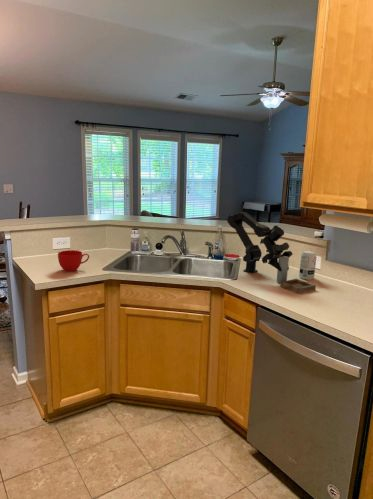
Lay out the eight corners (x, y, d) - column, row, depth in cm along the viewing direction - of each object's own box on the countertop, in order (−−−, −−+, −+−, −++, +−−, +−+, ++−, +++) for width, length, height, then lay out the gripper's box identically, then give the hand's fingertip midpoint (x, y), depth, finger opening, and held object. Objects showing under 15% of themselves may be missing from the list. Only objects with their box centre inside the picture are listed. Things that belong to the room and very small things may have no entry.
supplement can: (298, 275, 212) (300, 250, 208) (313, 276, 210) (315, 251, 207) (299, 279, 204) (302, 253, 201) (314, 280, 202) (317, 254, 199)
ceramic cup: (91, 271, 204) (91, 254, 202) (60, 274, 197) (59, 256, 195) (87, 265, 216) (86, 249, 214) (57, 268, 208) (56, 251, 206)
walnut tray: (280, 286, 190) (280, 281, 189) (296, 283, 196) (296, 278, 196) (299, 293, 180) (299, 288, 179) (315, 289, 186) (315, 285, 186)
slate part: (278, 280, 200) (281, 255, 197) (287, 282, 197) (290, 257, 194) (274, 282, 196) (277, 257, 193) (284, 284, 193) (286, 258, 190)
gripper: (267, 239, 190) (281, 264, 183) (291, 236, 200) (306, 260, 193) (255, 250, 198) (268, 275, 191) (279, 247, 208) (292, 271, 202)
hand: (284, 270), depth 194 cm, fingers closed on slate part, 5 cm apart
